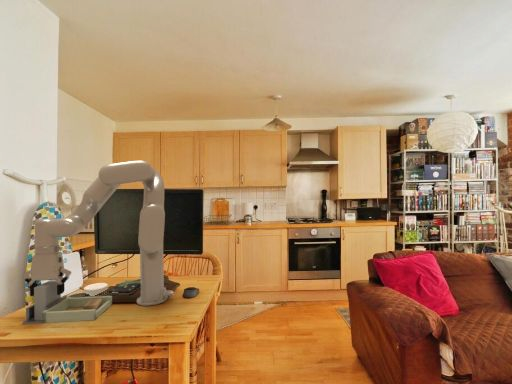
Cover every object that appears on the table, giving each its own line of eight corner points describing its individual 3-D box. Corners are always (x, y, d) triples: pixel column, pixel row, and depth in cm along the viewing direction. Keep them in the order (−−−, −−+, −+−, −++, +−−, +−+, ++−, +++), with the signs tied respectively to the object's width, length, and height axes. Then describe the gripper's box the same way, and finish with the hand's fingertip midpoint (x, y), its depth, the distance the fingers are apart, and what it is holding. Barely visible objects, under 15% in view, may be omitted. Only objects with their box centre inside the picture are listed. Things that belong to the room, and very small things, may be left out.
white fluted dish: (99, 288, 138) (99, 281, 138) (112, 291, 134) (112, 284, 134) (79, 295, 130) (79, 287, 130) (92, 298, 125) (92, 290, 125)
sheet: (60, 309, 112) (60, 279, 112) (45, 319, 103) (45, 287, 103) (50, 310, 112) (50, 280, 112) (34, 320, 103) (34, 287, 103)
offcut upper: (102, 303, 113) (102, 298, 113) (96, 311, 106) (96, 305, 106) (90, 304, 112) (90, 299, 112) (83, 312, 105) (83, 306, 105)
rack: (112, 304, 117) (112, 294, 117) (94, 320, 102) (94, 309, 102) (67, 306, 115) (67, 296, 115) (42, 322, 100) (42, 311, 100)
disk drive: (130, 296, 127) (144, 285, 142) (130, 290, 127) (144, 280, 142) (108, 296, 127) (124, 285, 142) (108, 290, 127) (124, 280, 142)
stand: (69, 306, 116) (69, 294, 116) (44, 323, 100) (44, 309, 100) (50, 307, 115) (50, 294, 115) (22, 324, 99) (22, 310, 100)
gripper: (75, 247, 112) (76, 290, 112) (30, 249, 111) (30, 292, 111) (64, 251, 105) (65, 296, 105) (15, 253, 103) (16, 299, 103)
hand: (47, 294), depth 108 cm, fingers open, 9 cm apart
